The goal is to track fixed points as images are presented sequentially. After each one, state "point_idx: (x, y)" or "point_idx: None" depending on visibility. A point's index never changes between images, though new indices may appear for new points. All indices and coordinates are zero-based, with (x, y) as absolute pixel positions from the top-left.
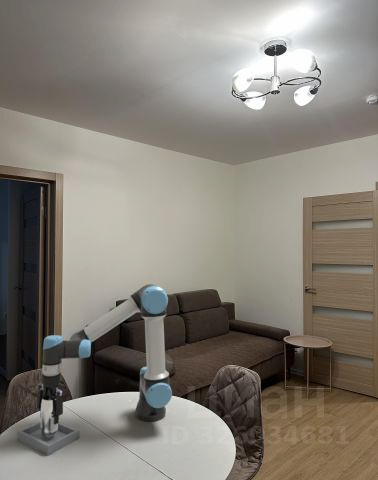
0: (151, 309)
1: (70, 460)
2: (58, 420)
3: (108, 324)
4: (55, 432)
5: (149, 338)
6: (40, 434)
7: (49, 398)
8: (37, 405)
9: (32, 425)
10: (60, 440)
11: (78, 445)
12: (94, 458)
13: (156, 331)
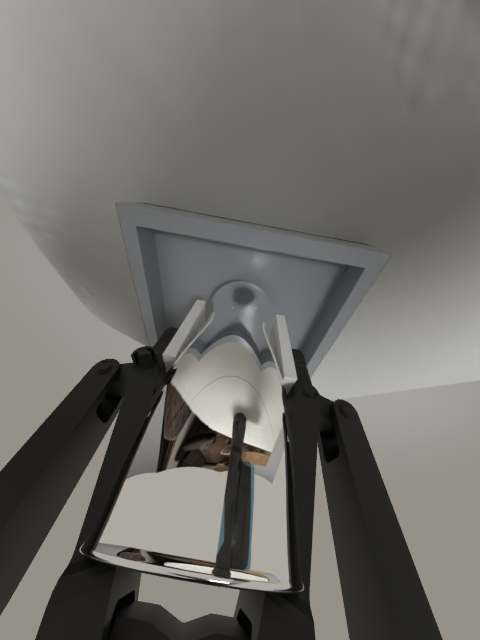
0: None
1: (383, 355)
2: (305, 364)
3: None
4: (270, 306)
5: None
6: (201, 299)
7: (127, 466)
8: (104, 403)
9: (143, 305)
10: (330, 346)
11: (384, 287)
12: (475, 329)
13: None
